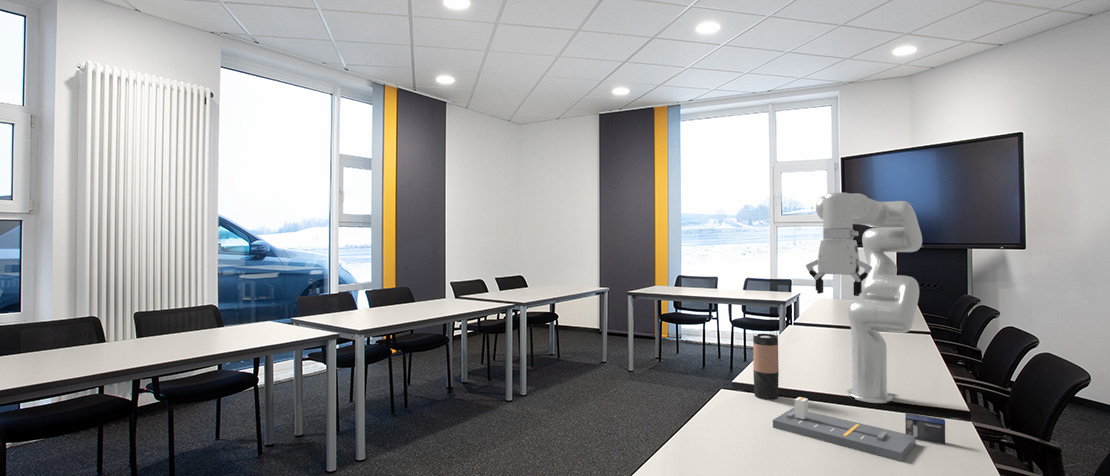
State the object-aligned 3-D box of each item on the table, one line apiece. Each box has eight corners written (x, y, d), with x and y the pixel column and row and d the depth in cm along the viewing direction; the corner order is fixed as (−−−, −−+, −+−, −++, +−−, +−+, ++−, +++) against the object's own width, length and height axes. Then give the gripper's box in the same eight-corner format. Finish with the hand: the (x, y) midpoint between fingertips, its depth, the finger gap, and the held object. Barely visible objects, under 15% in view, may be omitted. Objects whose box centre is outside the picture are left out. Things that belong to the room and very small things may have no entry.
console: (793, 414, 150) (793, 405, 150) (915, 444, 128) (915, 432, 128) (772, 427, 140) (772, 417, 140) (901, 461, 118) (901, 449, 118)
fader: (799, 414, 143) (798, 396, 143) (808, 416, 141) (807, 398, 141) (794, 417, 141) (794, 398, 141) (803, 419, 139) (803, 400, 139)
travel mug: (781, 400, 162) (780, 338, 162) (756, 399, 164) (755, 337, 164) (775, 393, 170) (775, 333, 170) (751, 392, 171) (751, 333, 171)
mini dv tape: (905, 437, 132) (905, 414, 132) (905, 435, 133) (905, 412, 133) (945, 444, 128) (945, 420, 127) (944, 442, 129) (944, 418, 129)
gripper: (875, 235, 144) (875, 295, 144) (811, 235, 156) (811, 291, 156) (868, 235, 139) (868, 297, 139) (801, 235, 151) (802, 293, 151)
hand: (838, 294), depth 147 cm, fingers open, 9 cm apart
